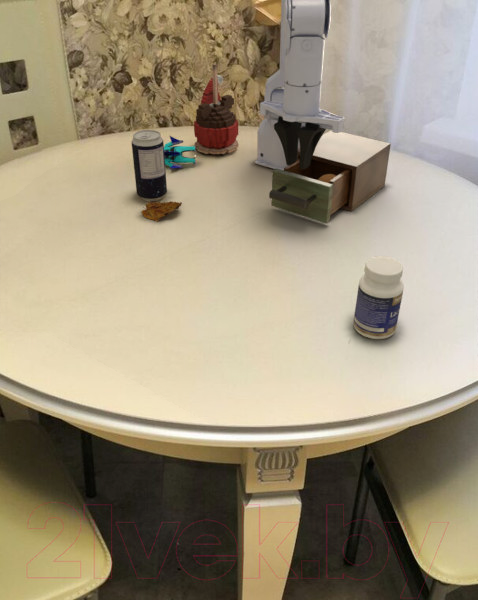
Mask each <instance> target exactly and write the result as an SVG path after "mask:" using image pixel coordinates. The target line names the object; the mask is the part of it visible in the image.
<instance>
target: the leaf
mask: <svg viewBox="0 0 478 600" xmlns="http://www.w3.org/2000/svg"><path fill="white" fill-rule="evenodd" d="M182 204H183V201H181V202H176V201H171V200H170V201H167V202H165V201H164V202H163V201H162V202H161V201H157V202H156V201H147V203H146V204H145V207H144V206H142V208H144V209H142V210H141V214H142V217H144V218H145V219H149V220H150V221H156V222H159V221H160V220H161V219H162V217H167V216H168V215H169V214H171V213H172V212H174V211H176V210H177V211H178V210H179V208H180V207H181V206H182Z"/></svg>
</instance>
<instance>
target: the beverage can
mask: <svg viewBox="0 0 478 600" xmlns="http://www.w3.org/2000/svg"><path fill="white" fill-rule="evenodd" d="M130 143H131V151H132V161H133V170H134V180H135V189H136V195H137V196H138V197H139V198H141V200H143V201H146V202H156V201H157V202H158V201H160V200H162V199H163V198H164V196H165V195H167V194H168V185H167V171H166V165H165V156H164V146H165V144H164V139H163V137H162V134H161V132H160V131H158V130H154V129H142V130H138V131H136V132H134V133H133V134H132V140H131V142H130Z"/></svg>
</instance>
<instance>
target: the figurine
mask: <svg viewBox="0 0 478 600" xmlns="http://www.w3.org/2000/svg"><path fill="white" fill-rule="evenodd" d="M169 139H170V141H169V142H167V143H165V144H164V156H165V166H167V167H169V169H180V170H181V169H185V168H184V166H183V165H181V164H189V163H190V164H193V165H196V164H197V162H196V161H197V160H196V158H197V155H196V154H195V155H194V156H193V157H188V156H184V155H183V153H186V152H187V153H188V152H196V149H195V145H193V146H192V145H191V146H190V145H189V146H188V145H180V144H183V143H184V140H182V139H177V138H176V137H173V136H171V135H169Z"/></svg>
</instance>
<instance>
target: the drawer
mask: <svg viewBox="0 0 478 600" xmlns="http://www.w3.org/2000/svg"><path fill="white" fill-rule="evenodd" d="M326 174H334V175H336V177H334V178H333V179H331V180H330V181H329V183H326V182H322V181H319V180H318V179H319V178H320V177H321V176H323V175H326ZM351 178H352V170H350V169H347V168H343V167H339V166H335V165H332V164H328V163H324V162H321V161H317V160H313V159H311V163H310V166H309V167H307V168H306V169H300V159H298V160H297V161H296V162H295V163H294V164H292V165H290V166H289V165H288V166H286V167H285V168H284V170H280V169H277V168H276V169H273V170H272V177H271V179H272V180H271V190H270V191H269V193H268V197H269V199H271V205H270V206H271V207H274V208H277V209H281V210H283V211H286V212H290V213H292V214H296V215H299V216H302V217H306V218H308V219H311V220H315V221H316V222H321V223H323V224H328V223H329V222H330V221H331V215H333V214H334V213H336V212H337V211H338V210H339V209H342V208H341V207H342V206H343V205H345V204H346V203H347V202H349V196H350V187H351Z"/></svg>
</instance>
